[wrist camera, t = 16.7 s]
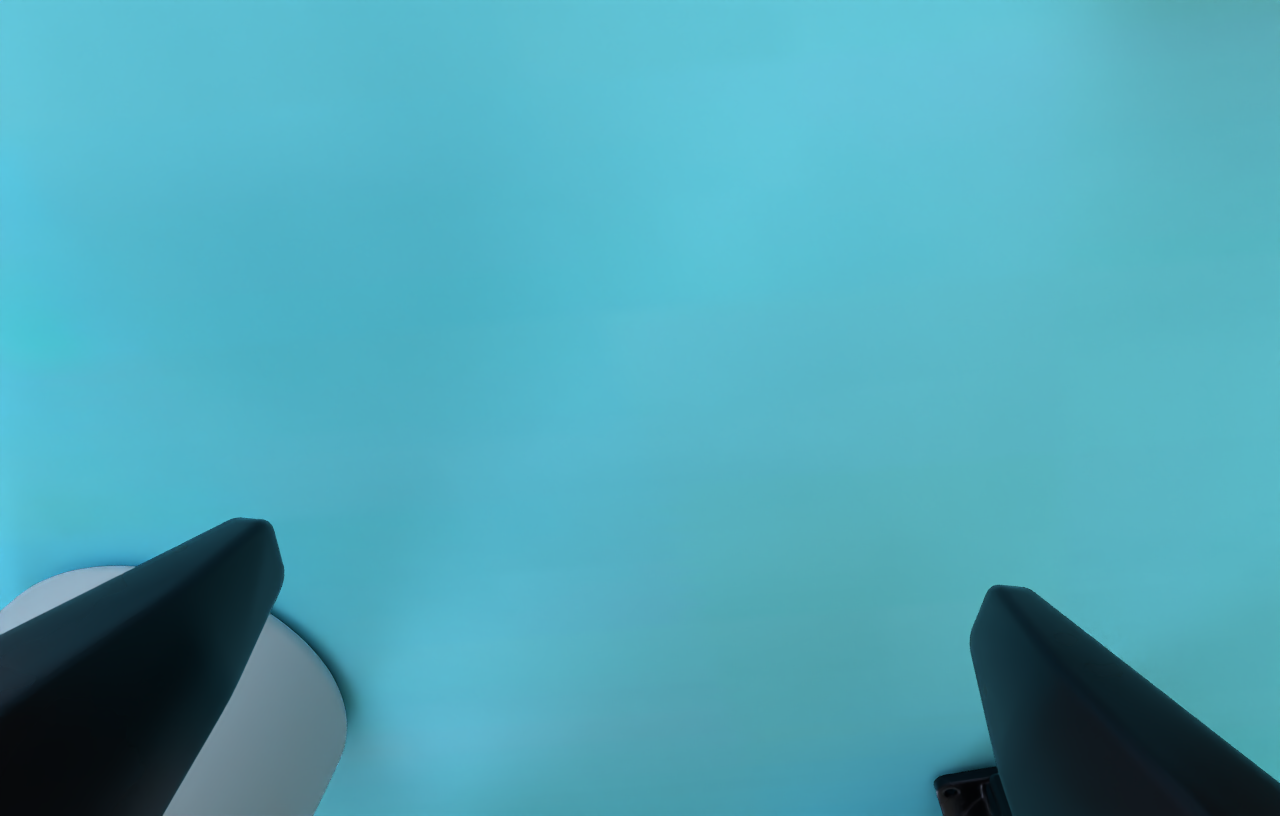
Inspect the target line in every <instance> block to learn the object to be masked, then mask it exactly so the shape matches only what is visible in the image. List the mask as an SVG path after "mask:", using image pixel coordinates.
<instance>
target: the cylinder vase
mask: <svg viewBox="0 0 1280 816" xmlns="http://www.w3.org/2000/svg"><path fill="white" fill-rule="evenodd" d="M134 567H135V566H99V567H90V568H83V569H78V570H73V571H69V572H65V573H62V574H59V575H56V576H53V577H50V578H48V579H45V580H43V581H41V582H39V583H37V584H35V585H34V586H32V587H30V588H29V589H27V590H25V591H24V592H23V593H21V594H20V595H19V596H17V597H16V598H15V599H14V600H13V601H12V602H10V603H9V604H8V605H7V606H6V607H5V608H3V609H2V610H1V611H0V634H2V633H4V632H6V631H8V630H10V629H12V628H14V627H16V626H18V625H20V624H22V623H24V622H26V621H28V620H30V619H32V618H34V617H36V616H38V615H40V614H42V613H44V612H46V611H48V610H50V609H52V608H54V607H56V606H58V605H60V604H62V603H64V602H66V601H68V600H70V599H72V598H74V597H76V596H78V595H80V594H82V593H84V592H86V591H88V590H90V589H92V588H94V587H96V586H98V585H100V584H102V583H104V582H106V581H108V580H110V579H112V578H114V577H116V576H118V575H120V574H122V573H124V572H126V571H128V570H130V569H132V568H134ZM346 736H347V717H346V710H345V706H344V702H343V699H342V696H341V693H340V691H339V688H338V686H337V684H336V682H335V680H334V678H333V676H332V675H331V673H330V672H329V670H328V668H327V667H326V666H325V664H324V663H323V662H322V660H321V659H320V658H319V656H318V655H317V654H316V653H315V652H314V651H313V649H312V648H311V647H310V646H309V645H308V644H307V643H306V642H305V641H304V640H303V639H302V638H301V637H300V636H299V635H297V634H296V633H295V632H294V631H293V630H292V629H290V628H289V627H288V626H287V625H285V624H284V623H283V622H281V621H280V620H279V619H277V618H276V617H274V616H273V615H271V614H269V616H268V618H267V621H266V623H265V625H264V627H263V630H262V632H261V634H260V636H259V638H258V641H257V643H256V645H255V647H254V649H253V652H252V654H251V656H250V658H249V660H248V663H247V665H246V667H245V669H244V671H243V674H242V676H241V678H240V680H239V682H238V684H237V686H236V688H235V690H234V692H233V694H232V697H231V698H230V700H229V702H228V704H227V706H226V707H225V709H224V711H223V713H222V715H221V716H220V718H219V720H218V722H217V723H216V725H215V727H214V728H213V730H212V732H211V734H210V735H209V737H208V739H207V741H206V742H205V744H204V746H203V747H202V749H201V751H200V753H199V754H198V756H197V758H196V759H195V761H194V763H193V765H192V766H191V768H190V770H189V771H188V773H187V775H186V777H185V778H184V780H183V782H182V783H181V785H180V787H179V789H178V790H177V792H176V794H175V795H174V797H173V799H172V801H171V802H170V804H169V806H168V808H167V809H166V811H165V813H164V814H163V816H313V815H314V813H315V811H316V809H317V807H318V805H319V803H320V801H321V799H322V796H323V794H324V792H325V790H326V788H327V786H328V784H329V782H330V780H331V778H332V775H333V773H334V771H335V769H336V767H337V765H338V763H339V761H340V759H341V756H342V754H343V750H344V747H345V743H346Z"/></svg>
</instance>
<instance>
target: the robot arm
mask: <svg viewBox="0 0 1280 816" xmlns="http://www.w3.org/2000/svg"><path fill="white" fill-rule="evenodd" d="M283 580H284V566H283V562H282V559H281V555H280V551H279V547H278V544H277V540H276V536H275V532H274V529H273V526H272V525H271V524H270V523H269V522H268V521H266V520H263V519H251V518H233V519H231V520H228V521H226V522H224V523H222V524H220V525H218V526H216V527H214V528H212V529H210V530H208V531H206V532H204V533H202V534H200V535H198V536H196V537H194V538H192V539H190V540H188V541H186V542H184V543H182V544H180V545H178V546H176V547H174V548H172V549H170V550H168V551H166V552H164V553H162V554H160V555H158V556H156V557H154V558H152V559H150V560H148V561H146V562H144V563H142V564H140V565H138V566H136V567H134V568H132V569H130V570H128V571H126V572H124V573H122V574H120V575H118V576H116V577H114V578H112V579H110V580H108V581H106V582H104V583H102V584H100V585H98V586H96V587H94V588H92V589H90V590H88V591H86V592H84V593H82V594H80V595H78V596H76V597H74V598H72V599H70V600H68V601H66V602H64V603H62V604H60V605H58V606H56V607H54V608H52V609H50V610H48V611H46V612H44V613H42V614H40V615H38V616H36V617H34V618H32V619H30V620H28V621H26V622H24V623H22V624H20V625H18V626H16V627H14V628H12V629H10V630H8V631H6V632H4V633H2V634H0V816H163V814H164V813H165V811H166V809H167V808H168V806H169V804H170V802H171V801H172V799H173V797H174V795H175V794H176V792H177V790H178V789H179V787H180V785H181V783H182V782H183V780H184V778H185V777H186V775H187V773H188V771H189V770H190V768H191V766H192V765H193V763H194V761H195V759H196V758H197V756H198V754H199V753H200V751H201V749H202V747H203V746H204V744H205V742H206V741H207V739H208V737H209V735H210V734H211V732H212V730H213V728H214V727H215V725H216V723H217V722H218V720H219V718H220V716H221V715H222V713H223V711H224V709H225V707H226V706H227V704H228V702H229V700H230V698H231V697H232V694H233V692H234V690H235V688H236V686H237V684H238V682H239V680H240V678H241V676H242V674H243V671H244V669H245V667H246V665H247V663H248V660H249V658H250V656H251V654H252V652H253V649H254V647H255V645H256V643H257V641H258V638H259V636H260V634H261V632H262V630H263V627H264V625H265V623H266V621H267V618H268V616H269V614H270V612H271V610H272V607H273V605H274V603H275V601H276V599H277V596H278V594H279V592H280V590H281V587H282V584H283ZM970 651H971V656H972V661H973V665H974V669H975V674H976V678H977V683H978V687H979V691H980V696H981V700H982V705H983V709H984V713H985V718H986V722H987V727H988V731H989V735H990V740H991V744H992V749H993V753H994V757H995V761H996V765H997V766H996V767H990V768H984V769H977V770H971V771H965V772H959V773H953V774H946V775H942V776H939V777H938V778H936V779H935V781H934V788H935V791H936V794H937V797H938V800H939V803H940V806H941V810H942V813H943V816H1280V783H1279V782H1278V781H1276V780H1275V779H1274V778H1272V777H1271V776H1270V775H1269V774H1267V773H1266V772H1265V771H1263V770H1262V769H1261V768H1260V767H1258V766H1257V765H1256V764H1254V763H1253V762H1252V761H1251V760H1249V759H1248V758H1247V757H1245V756H1244V755H1243V754H1242V753H1240V752H1239V751H1238V750H1236V749H1235V748H1234V747H1233V746H1231V745H1230V744H1229V743H1227V742H1226V741H1225V740H1224V739H1222V738H1221V737H1220V736H1218V735H1217V734H1216V733H1215V732H1213V731H1212V730H1211V729H1210V728H1208V727H1207V726H1206V725H1204V724H1203V723H1202V722H1201V721H1199V720H1198V719H1197V718H1195V717H1194V716H1193V715H1192V714H1190V713H1189V712H1188V711H1186V710H1185V709H1184V708H1183V707H1181V706H1180V705H1179V704H1177V703H1176V702H1175V701H1174V700H1172V699H1171V698H1170V697H1168V696H1167V695H1166V694H1165V693H1163V692H1162V691H1161V690H1159V689H1158V688H1157V687H1156V686H1154V685H1153V684H1152V683H1150V682H1149V681H1148V680H1147V679H1145V678H1144V677H1143V676H1141V675H1140V674H1139V673H1138V672H1136V671H1135V670H1134V669H1132V668H1131V667H1130V666H1129V665H1127V664H1126V663H1125V662H1123V661H1122V660H1121V659H1120V658H1118V657H1117V656H1116V655H1114V654H1113V653H1112V652H1111V651H1109V650H1108V649H1107V648H1105V647H1104V646H1103V645H1102V644H1100V643H1099V642H1098V641H1096V640H1095V639H1094V638H1093V637H1091V636H1090V635H1089V634H1087V633H1086V632H1085V631H1084V630H1082V629H1081V628H1080V627H1078V626H1077V625H1076V624H1075V623H1073V622H1072V621H1071V620H1069V619H1068V618H1067V617H1066V616H1064V615H1063V614H1062V613H1060V612H1059V611H1058V610H1057V609H1055V608H1054V607H1053V606H1051V605H1050V604H1049V603H1048V602H1046V601H1045V600H1044V599H1042V598H1041V597H1040V596H1039V595H1037V594H1036V593H1035V592H1033V591H1032V590H1030V589H1028V588H1025V587H1018V586H1007V585H995V586H992V587H991V588H990V589H989V590H988V591H987V593H986V595H985V598H984V600H983V603H982V605H981V608H980V610H979V613H978V615H977V617H976V620H975V622H974V625H973V627H972V630H971V634H970Z"/></svg>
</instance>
